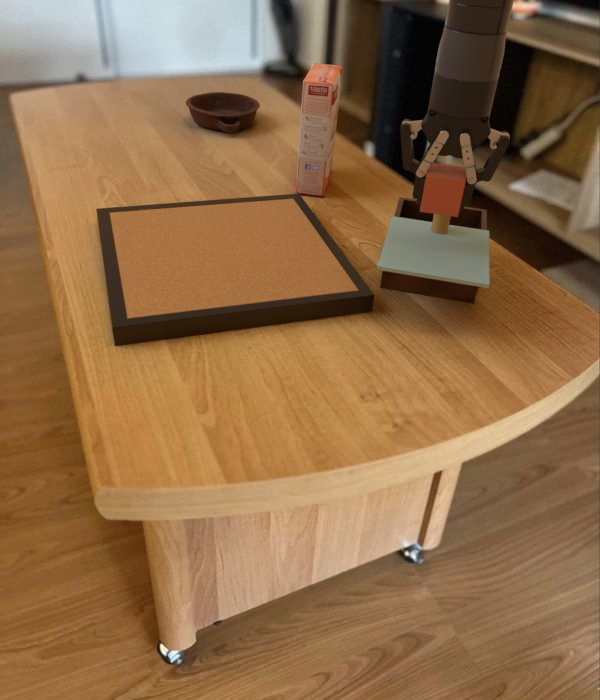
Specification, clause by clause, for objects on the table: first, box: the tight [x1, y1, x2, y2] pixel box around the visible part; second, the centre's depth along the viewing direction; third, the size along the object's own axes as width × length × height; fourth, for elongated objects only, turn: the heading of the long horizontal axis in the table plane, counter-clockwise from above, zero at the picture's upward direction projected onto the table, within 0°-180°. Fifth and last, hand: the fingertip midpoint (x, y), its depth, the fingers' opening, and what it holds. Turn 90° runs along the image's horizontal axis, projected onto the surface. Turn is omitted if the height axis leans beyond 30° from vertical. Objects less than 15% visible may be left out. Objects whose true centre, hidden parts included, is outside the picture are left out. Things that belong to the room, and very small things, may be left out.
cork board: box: [95, 193, 375, 347], centre depth 97 cm, size 36×3×35 cm
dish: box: [185, 91, 261, 134], centre depth 151 cm, size 18×22×5 cm
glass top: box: [376, 214, 491, 289], centre depth 87 cm, size 14×16×4 cm
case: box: [379, 196, 488, 304], centre depth 98 cm, size 14×16×8 cm
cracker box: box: [295, 62, 343, 198], centre depth 120 cm, size 14×6×21 cm, turn 171°
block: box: [420, 162, 466, 217], centre depth 84 cm, size 5×5×5 cm
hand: (440, 204), depth 85 cm, fingers closed on block, 5 cm apart
